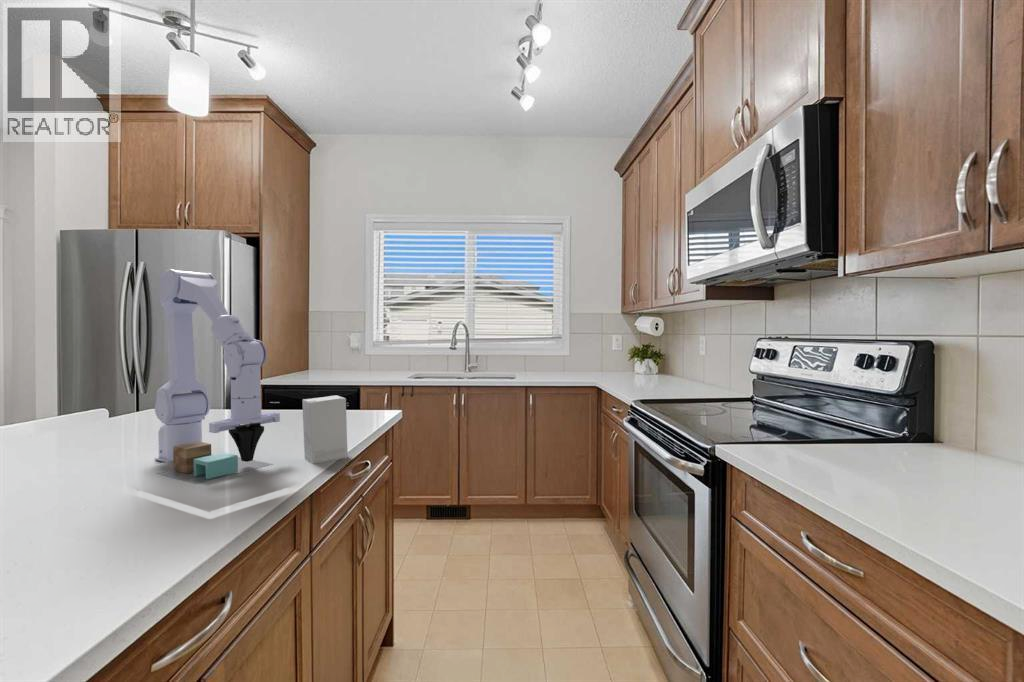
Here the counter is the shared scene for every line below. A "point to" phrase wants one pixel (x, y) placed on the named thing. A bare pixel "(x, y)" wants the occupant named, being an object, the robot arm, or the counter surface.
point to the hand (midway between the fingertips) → (247, 460)
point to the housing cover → (216, 465)
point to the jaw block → (189, 455)
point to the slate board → (191, 478)
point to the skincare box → (325, 429)
